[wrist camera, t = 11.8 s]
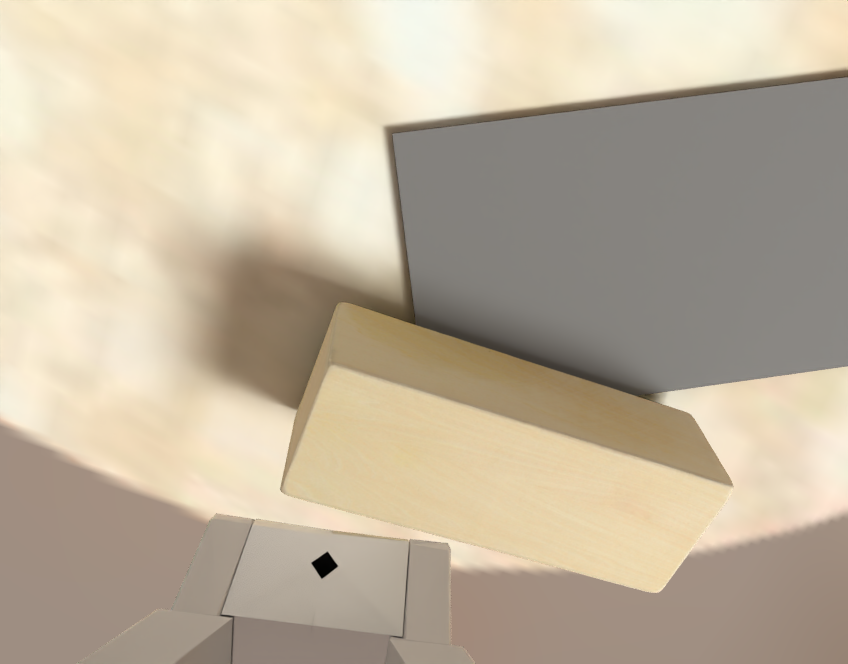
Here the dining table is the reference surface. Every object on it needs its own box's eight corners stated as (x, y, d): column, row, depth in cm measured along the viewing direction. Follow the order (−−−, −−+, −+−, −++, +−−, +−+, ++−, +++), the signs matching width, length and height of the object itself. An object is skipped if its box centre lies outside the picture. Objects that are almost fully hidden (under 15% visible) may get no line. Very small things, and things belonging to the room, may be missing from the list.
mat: (428, 421, 43) (428, 424, 43) (392, 133, 38) (392, 133, 38) (902, 354, 44) (908, 357, 44) (927, 66, 39) (933, 66, 39)
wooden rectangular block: (295, 411, 43) (625, 506, 47) (276, 498, 36) (661, 599, 40) (338, 291, 39) (690, 403, 43) (325, 362, 33) (741, 487, 37)
